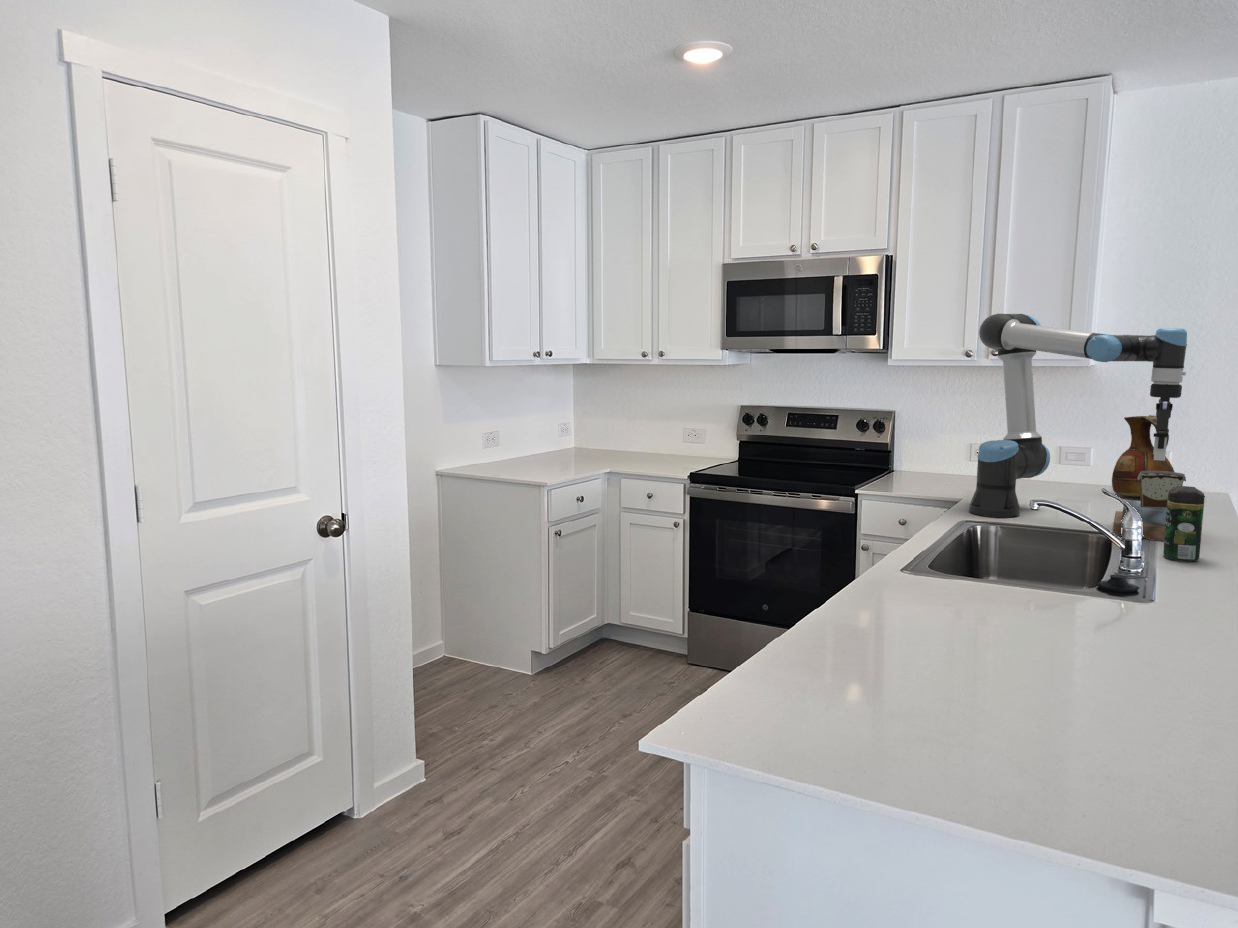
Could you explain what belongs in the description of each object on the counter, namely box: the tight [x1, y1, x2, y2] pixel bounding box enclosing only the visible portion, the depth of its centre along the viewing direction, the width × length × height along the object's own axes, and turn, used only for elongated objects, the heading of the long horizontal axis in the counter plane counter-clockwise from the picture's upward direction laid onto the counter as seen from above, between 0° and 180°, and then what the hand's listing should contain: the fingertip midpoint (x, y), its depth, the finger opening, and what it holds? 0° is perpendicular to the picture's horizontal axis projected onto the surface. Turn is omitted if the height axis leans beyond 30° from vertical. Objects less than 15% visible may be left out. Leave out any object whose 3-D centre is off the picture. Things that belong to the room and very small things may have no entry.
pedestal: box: [1112, 499, 1167, 542], centre depth 250 cm, size 20×20×8 cm
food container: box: [1138, 471, 1187, 508], centre depth 249 cm, size 12×6×10 cm, turn 80°
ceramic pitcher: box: [1111, 414, 1175, 498], centre depth 306 cm, size 20×20×30 cm
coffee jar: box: [1162, 485, 1206, 563], centre depth 220 cm, size 10×8×19 cm
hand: (1158, 457), depth 247 cm, fingers open, 13 cm apart
